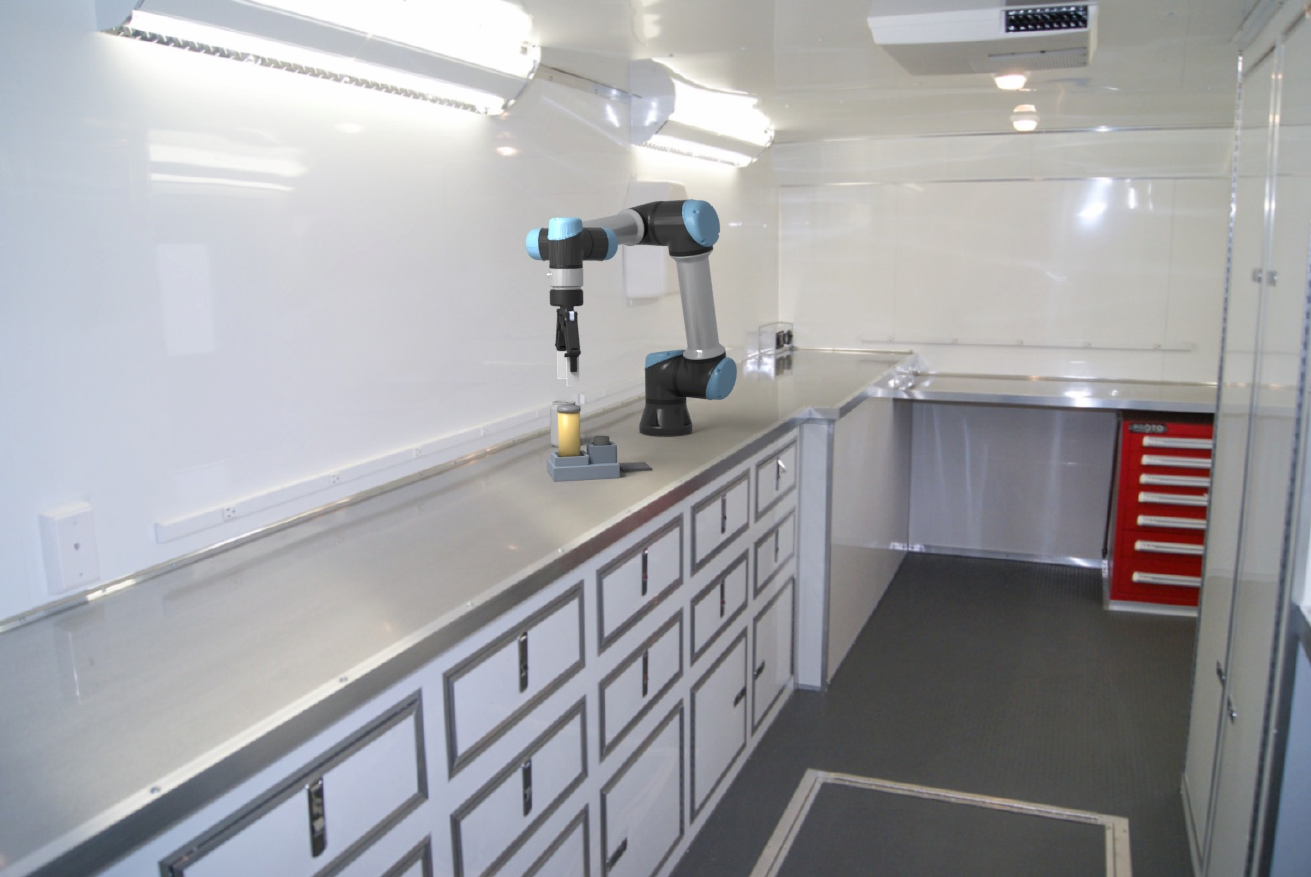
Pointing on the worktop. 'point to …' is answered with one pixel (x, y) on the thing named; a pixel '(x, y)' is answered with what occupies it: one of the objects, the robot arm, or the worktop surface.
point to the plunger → (601, 440)
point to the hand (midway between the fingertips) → (568, 383)
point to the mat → (634, 466)
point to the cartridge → (569, 430)
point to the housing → (585, 464)
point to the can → (556, 419)
